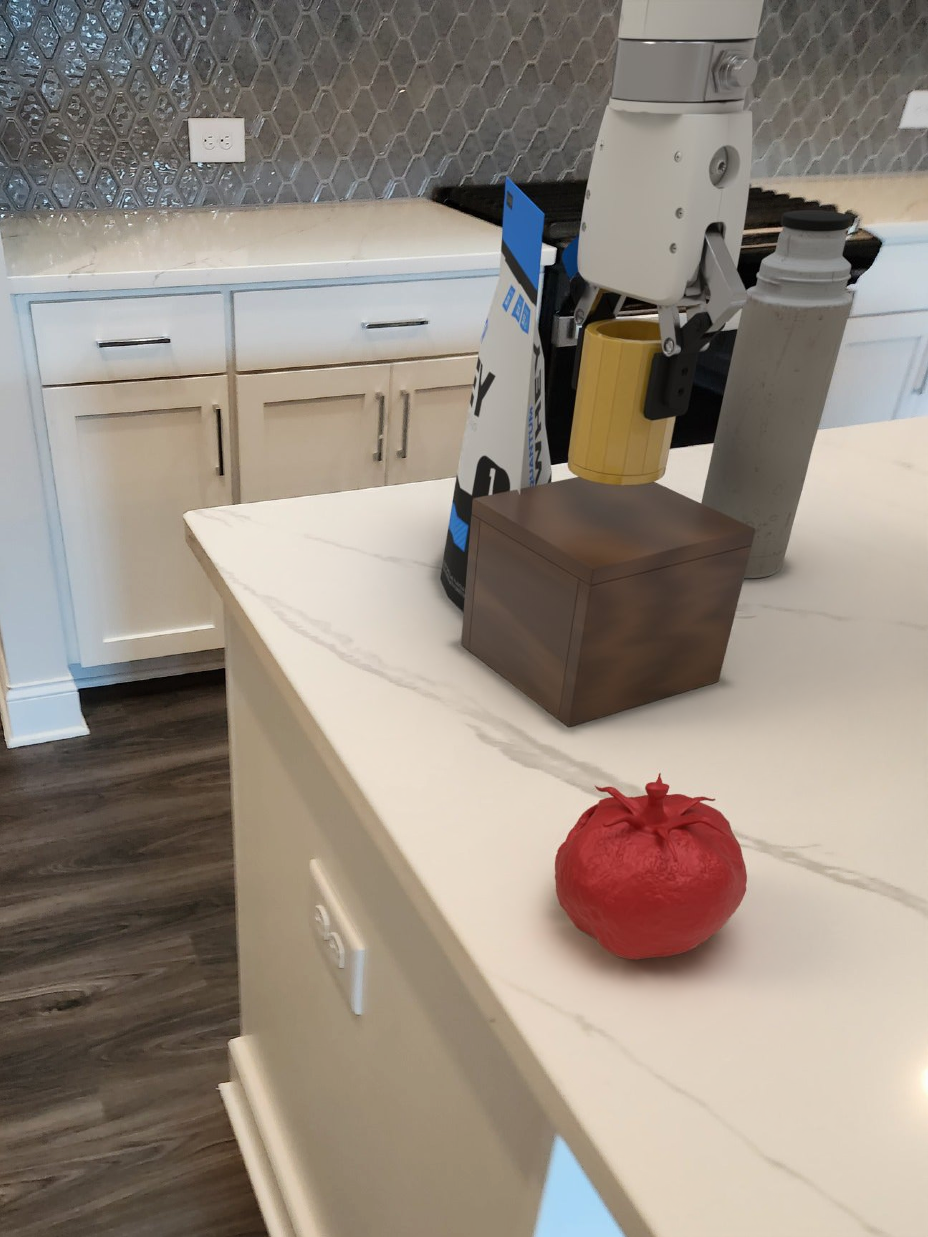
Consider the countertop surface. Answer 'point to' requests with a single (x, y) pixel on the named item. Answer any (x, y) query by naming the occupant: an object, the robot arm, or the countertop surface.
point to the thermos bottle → (780, 382)
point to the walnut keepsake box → (601, 593)
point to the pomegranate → (650, 872)
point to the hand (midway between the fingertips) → (627, 399)
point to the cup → (618, 406)
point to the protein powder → (503, 390)
